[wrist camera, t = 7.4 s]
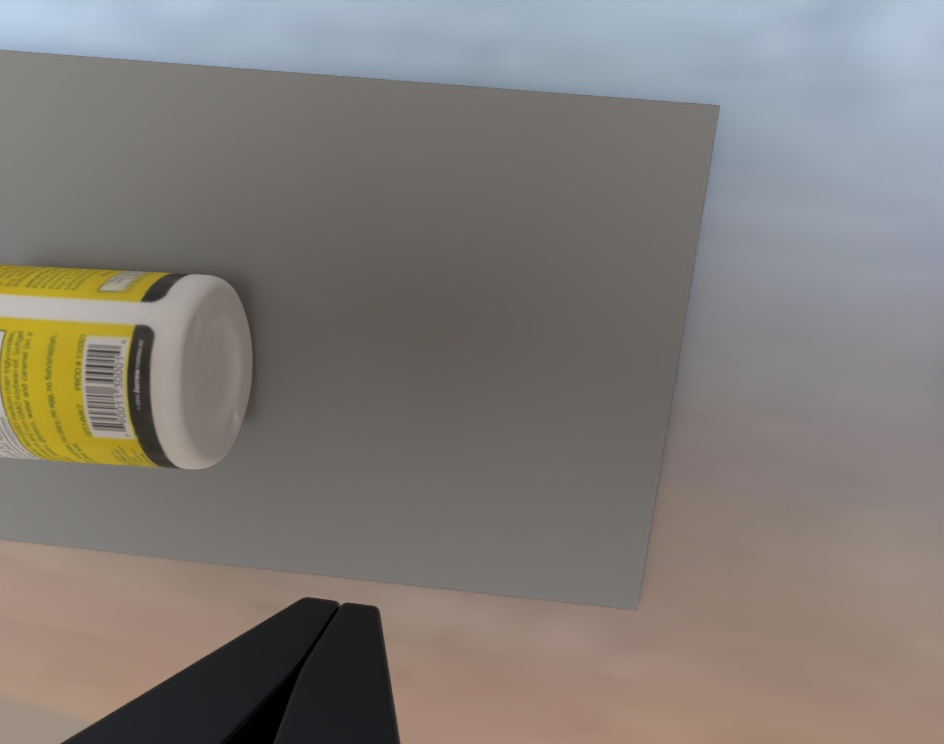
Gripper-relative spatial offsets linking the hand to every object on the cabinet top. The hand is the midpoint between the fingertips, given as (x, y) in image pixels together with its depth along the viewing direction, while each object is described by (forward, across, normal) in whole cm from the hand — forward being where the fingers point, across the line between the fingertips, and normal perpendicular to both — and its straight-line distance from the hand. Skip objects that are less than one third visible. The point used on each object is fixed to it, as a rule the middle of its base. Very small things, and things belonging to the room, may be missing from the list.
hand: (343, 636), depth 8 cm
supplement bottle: (+10, +6, 0) cm, 11 cm away
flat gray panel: (+12, +4, 0) cm, 13 cm away
